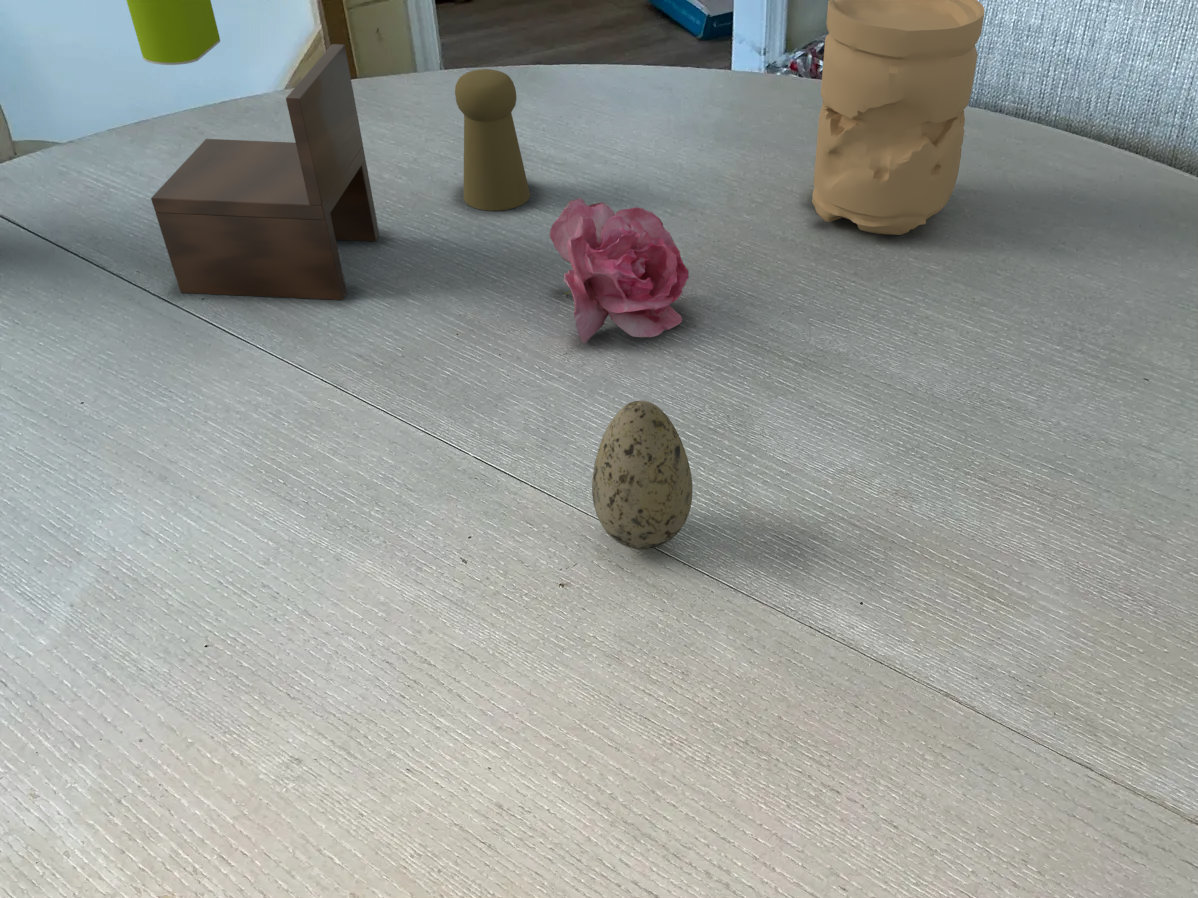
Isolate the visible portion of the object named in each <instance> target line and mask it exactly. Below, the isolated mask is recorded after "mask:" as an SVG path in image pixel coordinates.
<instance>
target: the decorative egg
mask: <svg viewBox="0 0 1198 898" xmlns="http://www.w3.org/2000/svg"><path fill="white" fill-rule="evenodd" d="M593 465H594V466H593V471H592V480H591V481H592V482H591V493H592V494H591V495H592V502H593V507H594V511H595V514H596V517H597V519H598V522H599V523H600V526H601V527H602V528H603V530H604V531H605V532H606V533H607V534H608V536H610V537H611V538H612V539H613V540H615V541H616V542H617V543H619V544H620V545H622V546H625V547H627V548H630V549H633V550H652V549H656V548H659V547H662V546H663V545H665V544H667V543H668V542H670V541H671V540H672V539H674V537H676V536H677V535H678V534H679V533H680V531H681V530H682V528H683V527H684V525H685V524H686V522H687V520H688V518H689V514H690V512H691V508H692V504H693V503H692V502H693V479H692V478H693V477H692V472H691V467H690V463H689V459H688V456H687V452H686V449H685V447H684V444H683V442H682V439H681V436H680V435H679V432H678V431H677V429H676V427H675V425H674V424H673V422H672V421H671V419H670V418H669V416H668V415H667V414H666V413H665V412H664V410H663V409H661V408H660V407H659V406H658V405H656V404H655V403H652V402H650V401H647V400H634V401H631V402H629V403H627V404H625V405H624V406H623V407H621V408H620V409H619V410H618V411H617V412H616V414H615V415H614V416H613V418H612V419H611V421H610V422H609V424H608V425H607V427H606V429H605V431H604V433H603V435H602V438H601V441H600V444H599V446H598V449H597V452H596V456H595V461H594V464H593Z"/></svg>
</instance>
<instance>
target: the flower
mask: <svg viewBox="0 0 1198 898" xmlns="http://www.w3.org/2000/svg"><path fill="white" fill-rule="evenodd" d="M567 202H568V203H567V204H566V206H565V207H564V208H563V210H562V212H561V214H560V215H559V216H558V217H557V218H556V219H555V221H554V222H553V223H552V226H551V228H550V231H549V239H550V240H551V242H552V244H553V247H554V248H555V249H556V251H557V252H558V253H559V255H560V257H561V258H562V259H563V260H564V261H566V262H569V263H570V266H571V268H572V269H570V270H568V271H567V272H565V273H564V274H563V277H564V279H563V282H564V283H565V284H566V285H567V286H568V289H570V291H568V292H565V293H563V295H564V296H566V295H568V294H571V296H572V299H573V303H574V304H573V305H574V311H573V316H574V319H575V325H576V329H577V334H578V336H579V339H580V341H581V343H583V344H586V343H587V342H588V341H589V340H590V339H591V338H592V337H593V336H594V335H595V334H596V333H597V332H599V330H600V329H601V328H603V326H604V325H605V322H606V320H607V318H608V316H609V317H610V320H611V321H612V322H613V323H614V324H615V325H616V326H618V327H619V328H620V329H621V330H622V331H624V332H625V333H626V334H627V335H629V336H631V337H635V338H655V337H658V336H660V335H662V333H663V332H664V331H667V330H669V331H670V330H671V329H673V328H675V327H677V326H678V325H680V324H682V323H683V318H682V315H681V314H679V313H678V312H677V311H676V310H675V309H674V308H673V307H672V306H671V304H673V303H674V302H676V301H677V300H678V299H679V298H680V296H681V295H682V293H683V292H684V291H683V288H684V287H685V286H686V283H687V281H688V280H689V278H690V277H689V275H690V273H689V269H688V268H687V267H686V265H685V264H684V261H683V259H682V257H681V252H680V249H679V248H678V246H677V245H676V243H675V241H674V239H673V237H672V235H671V233H670V232H669V231H668V230H667V229H666V228H665V227H664V223H663V221H662V220H661V218H660V217H658V216H657V215H656V214H655V213H654V212H652V211H649V210H646V209H645V208H643V207H639V206H635V207H630V208H624V209H619V210H617V211H616V212H615V211H614V210H613V209H612V208H611V206H610V205H608V204H606V203H605V202H603V201H601V202H596V203H592V204H589V205H588V204H587V203H586V202H585V201H584V199H583V198H582V197H579V198H575V199H572V200H569V201H567Z"/></svg>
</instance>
